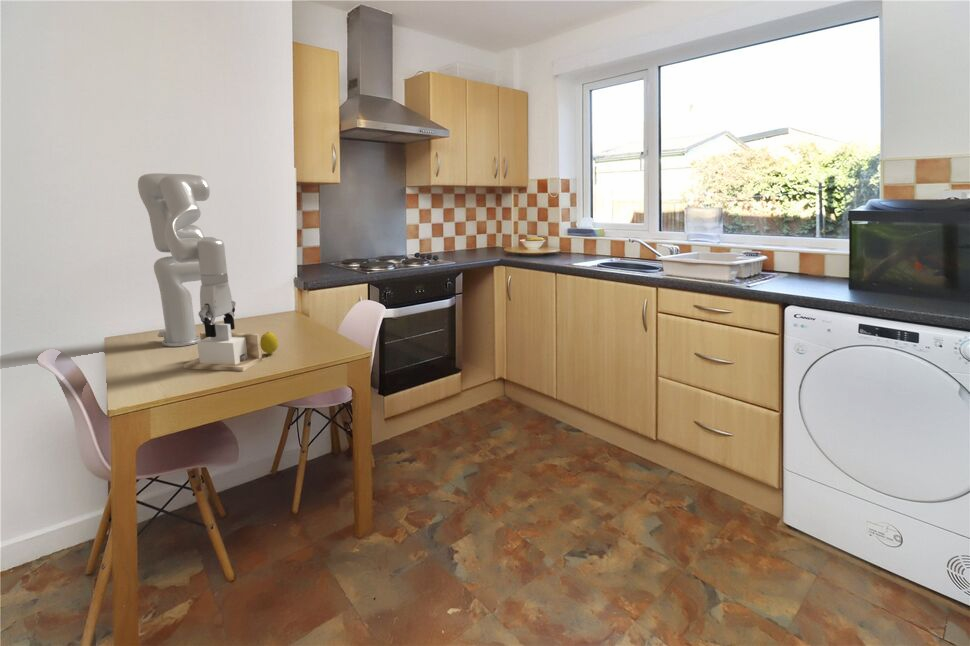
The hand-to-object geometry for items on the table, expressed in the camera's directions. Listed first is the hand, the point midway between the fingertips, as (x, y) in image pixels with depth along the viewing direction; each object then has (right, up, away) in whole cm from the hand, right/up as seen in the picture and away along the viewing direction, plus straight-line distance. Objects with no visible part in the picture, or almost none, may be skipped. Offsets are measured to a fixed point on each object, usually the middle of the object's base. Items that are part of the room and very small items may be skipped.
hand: (220, 333), depth 173 cm
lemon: (+11, -8, +13) cm, 18 cm away
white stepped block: (0, -9, +2) cm, 9 cm away
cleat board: (0, -10, +2) cm, 10 cm away
